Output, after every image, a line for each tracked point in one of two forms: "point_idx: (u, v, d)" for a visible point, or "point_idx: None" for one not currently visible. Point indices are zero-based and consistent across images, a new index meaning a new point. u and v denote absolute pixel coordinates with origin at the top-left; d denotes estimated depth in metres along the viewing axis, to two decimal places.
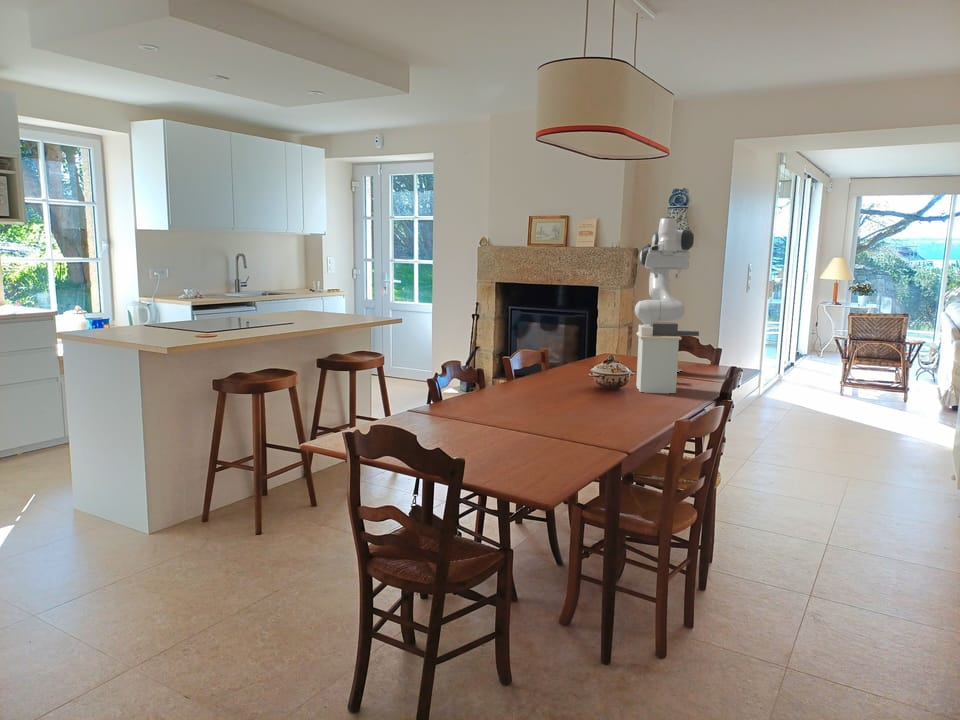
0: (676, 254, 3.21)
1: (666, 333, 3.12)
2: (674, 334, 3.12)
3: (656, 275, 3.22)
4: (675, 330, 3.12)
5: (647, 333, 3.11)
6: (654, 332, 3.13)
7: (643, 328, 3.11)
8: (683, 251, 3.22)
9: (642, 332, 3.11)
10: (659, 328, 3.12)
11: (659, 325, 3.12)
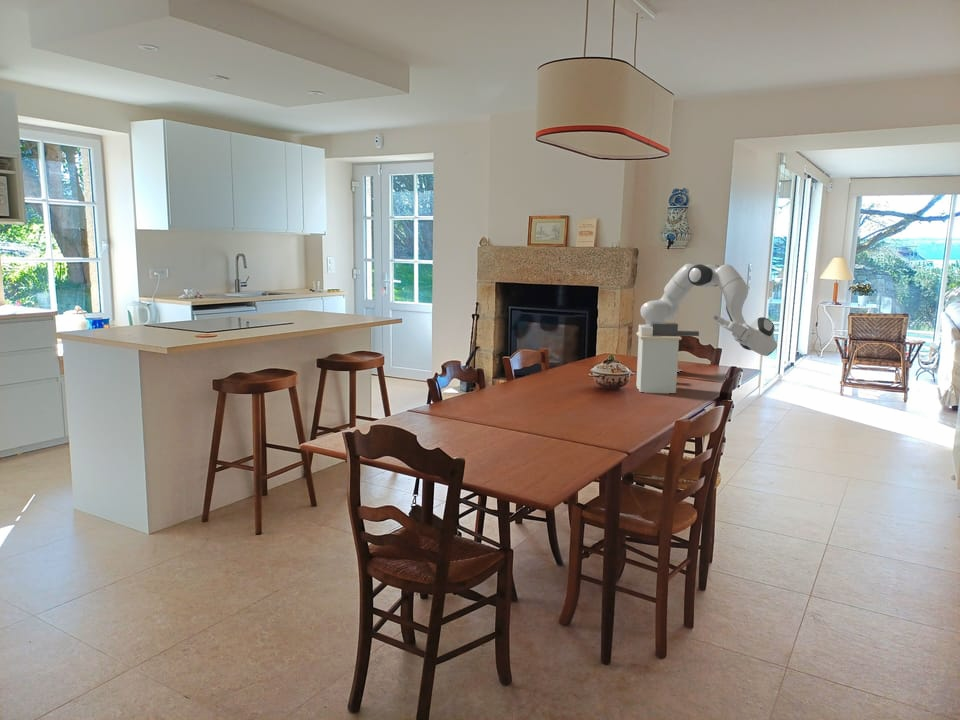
0: (732, 332, 3.16)
1: (666, 333, 3.12)
2: (674, 334, 3.12)
3: (719, 321, 3.08)
4: (675, 330, 3.12)
5: (647, 333, 3.11)
6: (654, 332, 3.13)
7: (643, 328, 3.11)
8: None
9: (642, 332, 3.11)
10: (659, 328, 3.12)
11: (659, 325, 3.12)
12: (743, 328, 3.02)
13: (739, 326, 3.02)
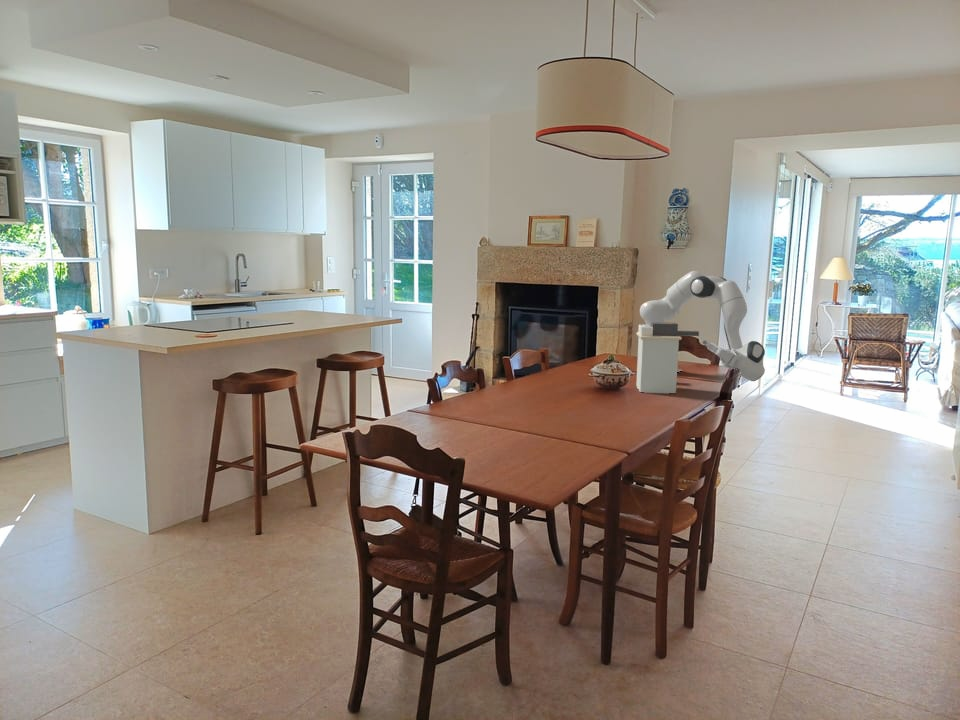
0: None
1: (666, 333, 3.12)
2: (674, 334, 3.12)
3: (707, 346, 3.10)
4: (675, 330, 3.12)
5: (647, 333, 3.11)
6: (654, 332, 3.13)
7: (643, 328, 3.11)
8: None
9: (642, 332, 3.11)
10: (659, 328, 3.12)
11: (659, 325, 3.12)
12: (731, 354, 3.05)
13: (727, 352, 3.05)
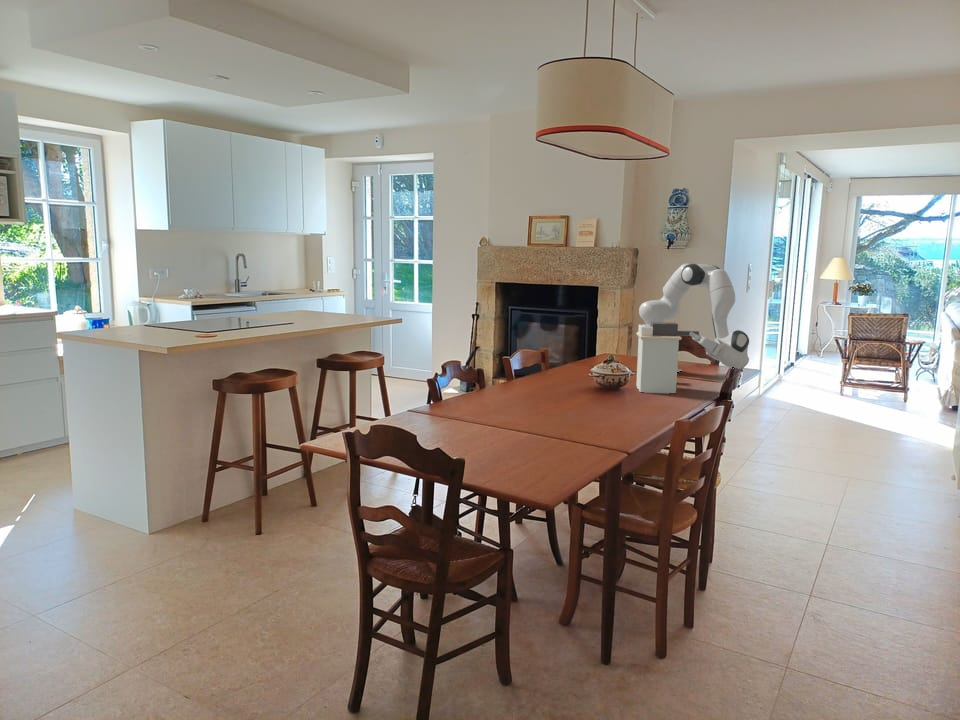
0: None
1: (666, 333, 3.12)
2: (674, 334, 3.12)
3: (690, 335, 3.13)
4: (675, 330, 3.12)
5: (647, 333, 3.11)
6: (654, 332, 3.13)
7: (643, 328, 3.11)
8: None
9: (642, 332, 3.11)
10: (659, 328, 3.12)
11: (659, 325, 3.12)
12: (714, 343, 3.05)
13: (710, 341, 3.05)
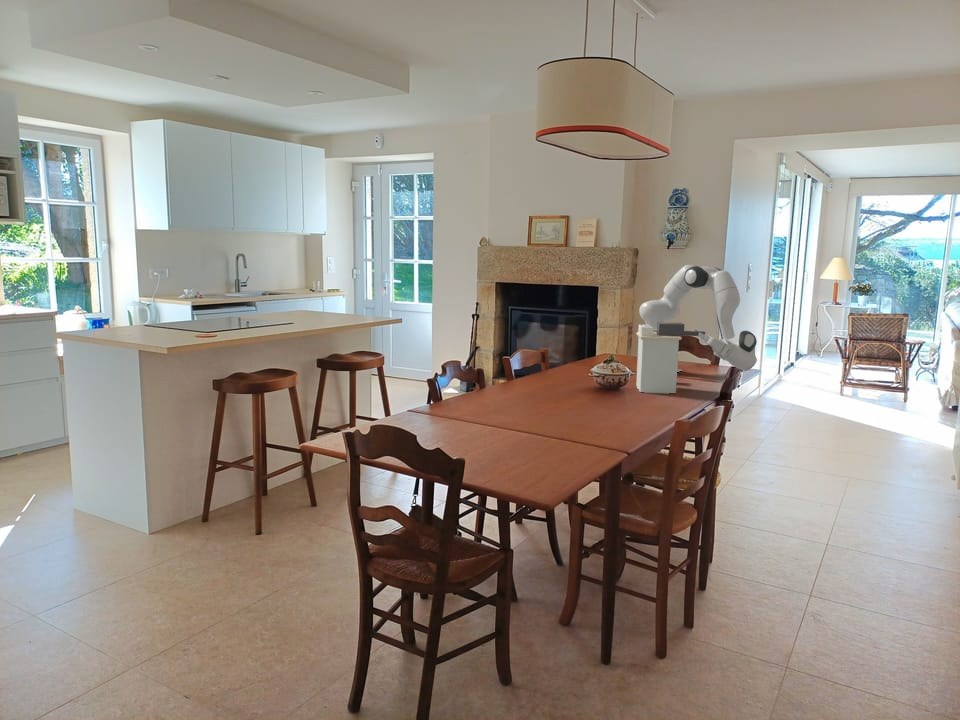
0: None
1: (673, 334, 3.12)
2: (680, 334, 3.12)
3: (699, 336, 3.10)
4: (681, 330, 3.11)
5: (647, 333, 3.11)
6: (660, 332, 3.12)
7: (643, 328, 3.11)
8: None
9: (642, 332, 3.11)
10: (666, 329, 3.12)
11: (665, 325, 3.12)
12: (722, 343, 3.04)
13: (718, 341, 3.04)
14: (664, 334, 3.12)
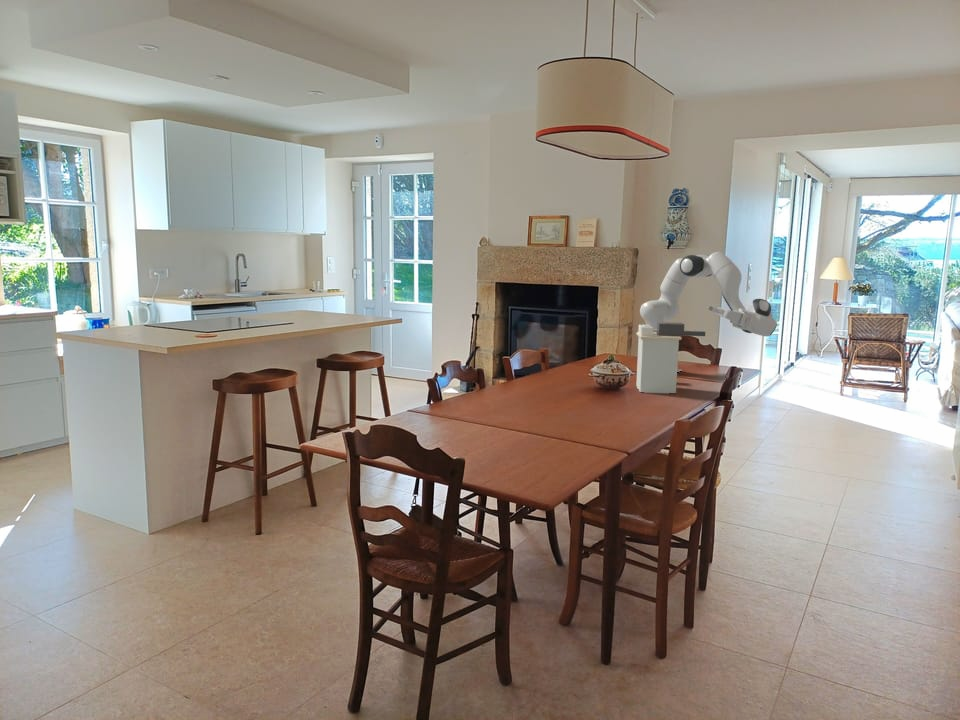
0: None
1: (673, 334, 3.12)
2: (680, 334, 3.12)
3: (714, 311, 3.08)
4: (681, 330, 3.11)
5: (647, 333, 3.11)
6: (660, 332, 3.12)
7: (643, 328, 3.11)
8: None
9: (642, 332, 3.11)
10: (666, 329, 3.12)
11: (665, 325, 3.12)
12: (739, 314, 3.02)
13: (734, 313, 3.02)
14: (664, 334, 3.12)
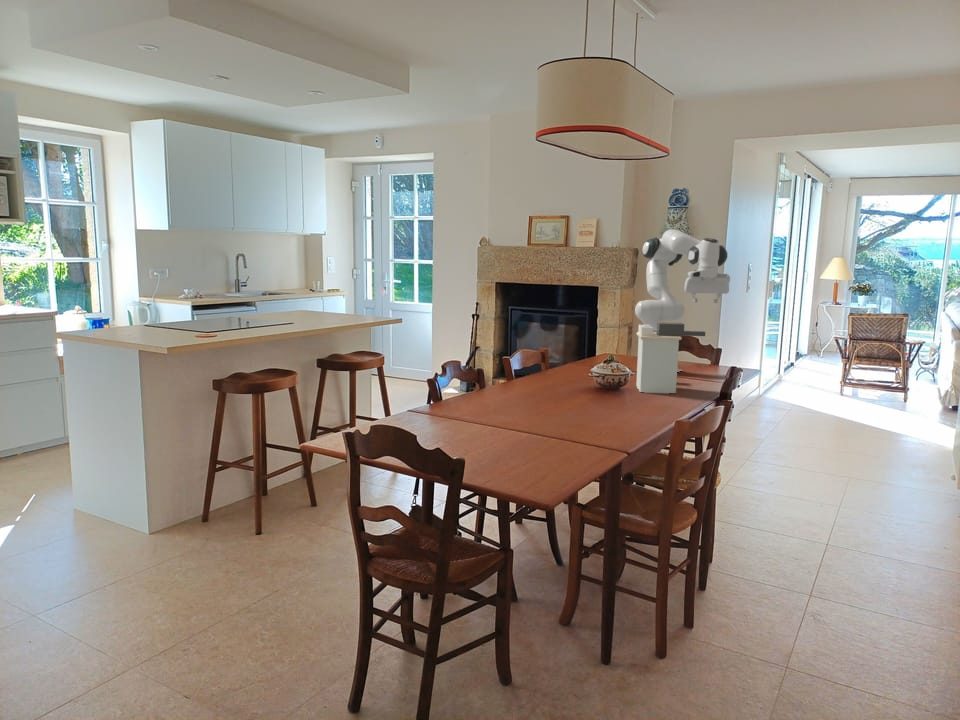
0: (717, 279, 3.19)
1: (673, 334, 3.12)
2: (680, 334, 3.12)
3: (695, 300, 3.23)
4: (681, 330, 3.11)
5: (647, 333, 3.11)
6: (660, 332, 3.12)
7: (643, 328, 3.11)
8: (723, 275, 3.20)
9: (642, 332, 3.11)
10: (666, 329, 3.12)
11: (665, 325, 3.12)
12: (686, 280, 3.24)
13: (685, 284, 3.24)
14: (664, 334, 3.12)
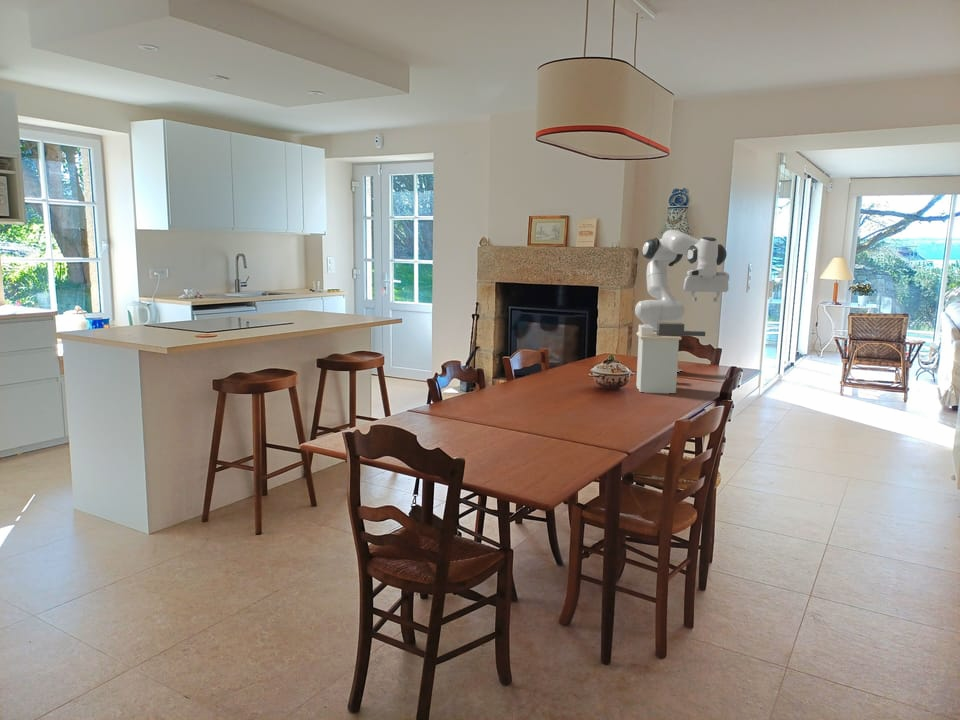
0: (716, 278, 3.19)
1: (673, 334, 3.12)
2: (680, 334, 3.12)
3: (695, 299, 3.23)
4: (681, 330, 3.11)
5: (647, 333, 3.11)
6: (660, 332, 3.12)
7: (643, 328, 3.11)
8: (723, 274, 3.20)
9: (642, 332, 3.11)
10: (666, 329, 3.12)
11: (665, 325, 3.12)
12: (685, 278, 3.24)
13: (684, 283, 3.24)
14: (664, 334, 3.12)
